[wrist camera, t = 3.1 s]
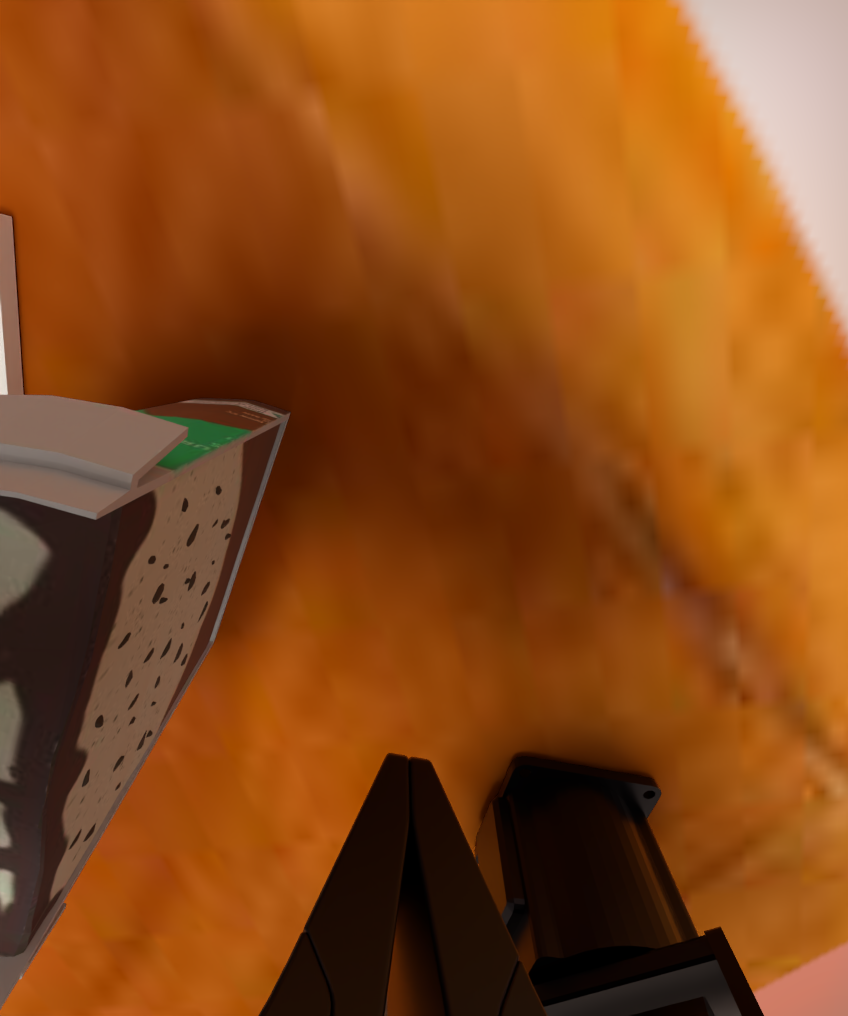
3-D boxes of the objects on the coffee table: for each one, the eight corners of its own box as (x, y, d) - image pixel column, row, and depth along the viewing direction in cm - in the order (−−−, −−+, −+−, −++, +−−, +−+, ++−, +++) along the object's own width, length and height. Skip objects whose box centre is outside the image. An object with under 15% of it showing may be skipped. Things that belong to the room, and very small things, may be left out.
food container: (92, 273, 13) (-625, 201, 4) (306, 366, 14) (106, 472, 5) (36, 618, 18) (-381, 959, 8) (204, 672, 19) (-6, 1029, 9)
